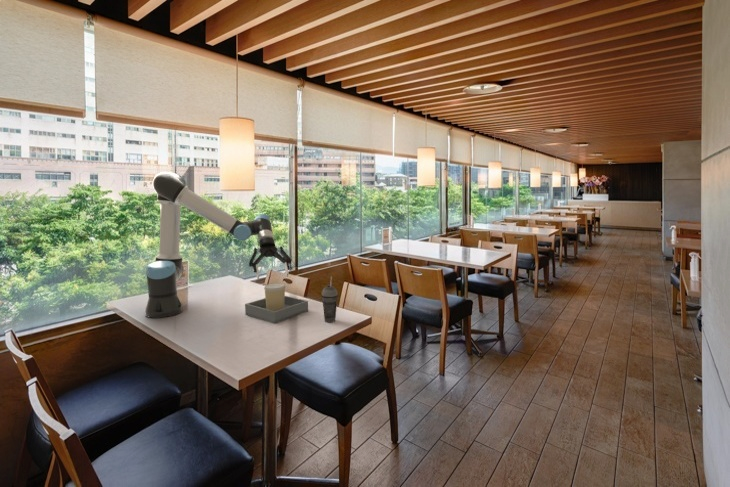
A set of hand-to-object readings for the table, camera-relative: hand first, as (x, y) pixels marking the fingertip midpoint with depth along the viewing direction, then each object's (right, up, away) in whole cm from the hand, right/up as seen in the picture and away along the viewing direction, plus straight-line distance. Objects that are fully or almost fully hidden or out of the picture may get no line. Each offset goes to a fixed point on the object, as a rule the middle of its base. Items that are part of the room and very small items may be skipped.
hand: (273, 276), depth 177 cm
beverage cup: (+28, -18, -14) cm, 36 cm away
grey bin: (+3, -17, -3) cm, 17 cm away
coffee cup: (+2, -16, -4) cm, 16 cm away
